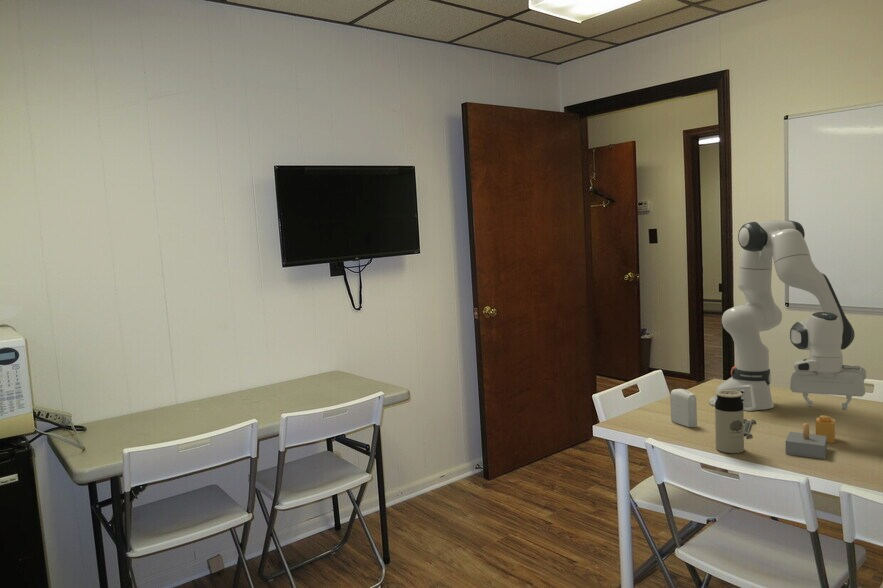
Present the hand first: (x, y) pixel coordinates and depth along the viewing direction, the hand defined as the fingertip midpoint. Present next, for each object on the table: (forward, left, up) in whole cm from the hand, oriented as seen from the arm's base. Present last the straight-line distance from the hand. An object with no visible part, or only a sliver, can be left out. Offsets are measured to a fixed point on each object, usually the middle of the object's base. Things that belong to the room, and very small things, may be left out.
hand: (827, 407), depth 201 cm
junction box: (-5, -14, -10) cm, 18 cm away
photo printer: (-44, -1, -11) cm, 45 cm away
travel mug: (-25, -22, -11) cm, 34 cm away
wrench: (-24, +1, -11) cm, 26 cm away
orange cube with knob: (-1, 0, -10) cm, 10 cm away
